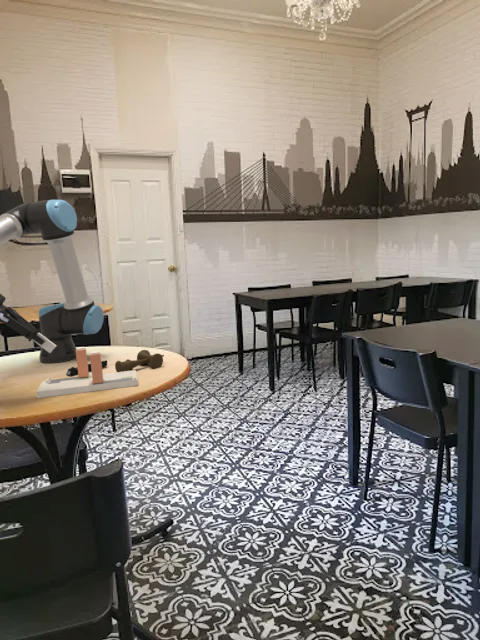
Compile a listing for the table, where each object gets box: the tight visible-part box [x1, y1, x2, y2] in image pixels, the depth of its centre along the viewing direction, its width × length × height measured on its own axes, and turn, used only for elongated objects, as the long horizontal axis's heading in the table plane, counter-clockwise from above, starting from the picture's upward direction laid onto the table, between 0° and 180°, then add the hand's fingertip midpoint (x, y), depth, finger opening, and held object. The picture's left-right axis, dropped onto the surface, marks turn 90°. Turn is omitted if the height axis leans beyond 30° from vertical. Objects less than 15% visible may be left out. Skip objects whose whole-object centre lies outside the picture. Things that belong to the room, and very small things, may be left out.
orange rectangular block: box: [89, 350, 104, 384], centre depth 146 cm, size 3×3×10 cm
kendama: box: [114, 349, 165, 372], centre depth 170 cm, size 6×10×20 cm
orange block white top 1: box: [75, 346, 90, 378], centre depth 154 cm, size 3×3×10 cm
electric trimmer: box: [65, 360, 108, 378], centre depth 171 cm, size 4×16×3 cm, turn 134°
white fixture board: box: [36, 369, 139, 399], centre depth 151 cm, size 14×30×3 cm, turn 105°
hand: (53, 349), depth 142 cm, fingers closed
